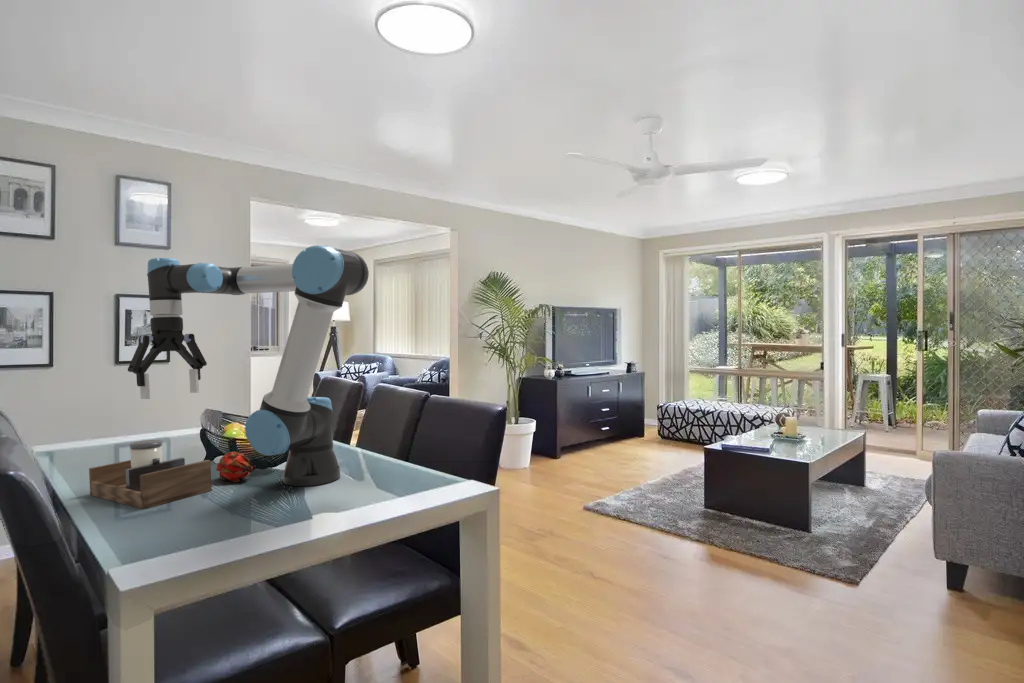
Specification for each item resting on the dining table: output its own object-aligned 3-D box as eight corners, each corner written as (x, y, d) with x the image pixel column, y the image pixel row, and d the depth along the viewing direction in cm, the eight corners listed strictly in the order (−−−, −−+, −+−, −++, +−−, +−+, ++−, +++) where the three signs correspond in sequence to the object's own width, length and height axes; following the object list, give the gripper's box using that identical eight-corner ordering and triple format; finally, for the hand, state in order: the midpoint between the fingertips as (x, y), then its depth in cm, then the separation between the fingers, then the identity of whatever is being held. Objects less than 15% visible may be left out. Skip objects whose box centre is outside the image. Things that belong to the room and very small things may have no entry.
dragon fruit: (225, 481, 170) (249, 493, 163) (202, 469, 164) (225, 482, 157) (243, 454, 173) (266, 465, 166) (221, 442, 167) (244, 453, 160)
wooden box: (211, 490, 155) (210, 460, 154) (144, 509, 140) (142, 475, 140) (157, 479, 167) (156, 451, 167) (90, 495, 152) (88, 464, 152)
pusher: (185, 483, 158) (184, 453, 157) (130, 497, 146) (128, 465, 145) (182, 482, 158) (180, 453, 158) (126, 496, 146) (125, 464, 146)
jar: (169, 486, 156) (168, 441, 155) (141, 493, 149) (139, 446, 149) (154, 483, 159) (152, 438, 159) (125, 490, 153) (123, 444, 152)
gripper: (200, 316, 171) (204, 389, 172) (108, 317, 149) (113, 401, 150) (217, 315, 168) (221, 390, 168) (126, 316, 146) (131, 402, 146)
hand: (170, 395), depth 159 cm, fingers open, 13 cm apart
